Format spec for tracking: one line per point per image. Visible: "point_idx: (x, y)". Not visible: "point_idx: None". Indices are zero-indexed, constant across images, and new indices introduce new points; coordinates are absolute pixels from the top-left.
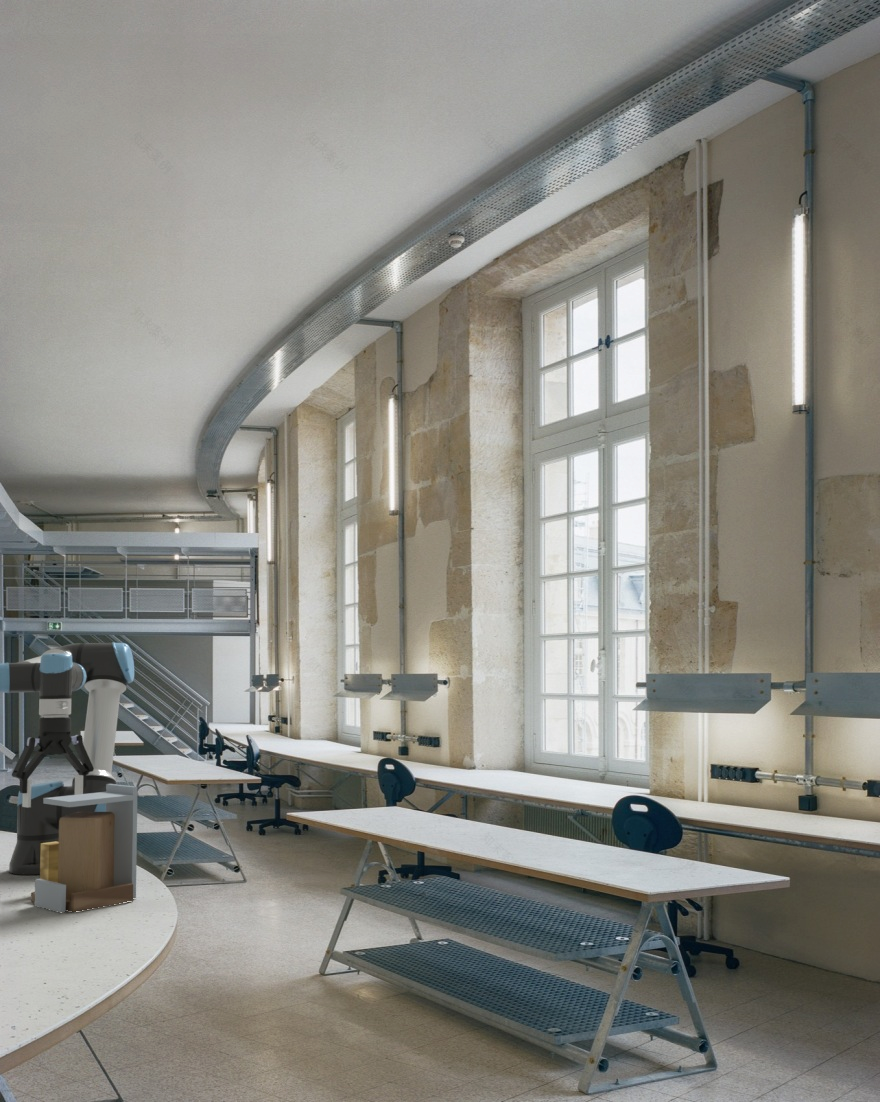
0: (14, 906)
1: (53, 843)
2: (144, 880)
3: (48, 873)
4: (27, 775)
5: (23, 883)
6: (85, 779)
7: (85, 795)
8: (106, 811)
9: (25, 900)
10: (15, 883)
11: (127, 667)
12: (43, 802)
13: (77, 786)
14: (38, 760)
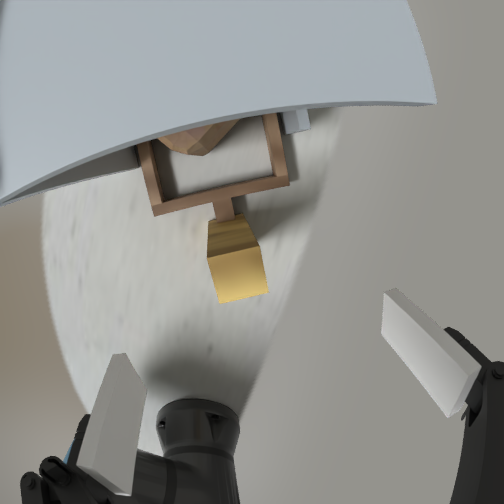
0: (322, 158)
1: (237, 269)
2: (52, 255)
3: (247, 224)
4: (498, 383)
5: (243, 355)
6: (73, 449)
7: (148, 27)
8: (42, 185)
9: (290, 201)
10: (254, 361)
11: None
12: (420, 105)
13: (122, 430)
14: (496, 494)
